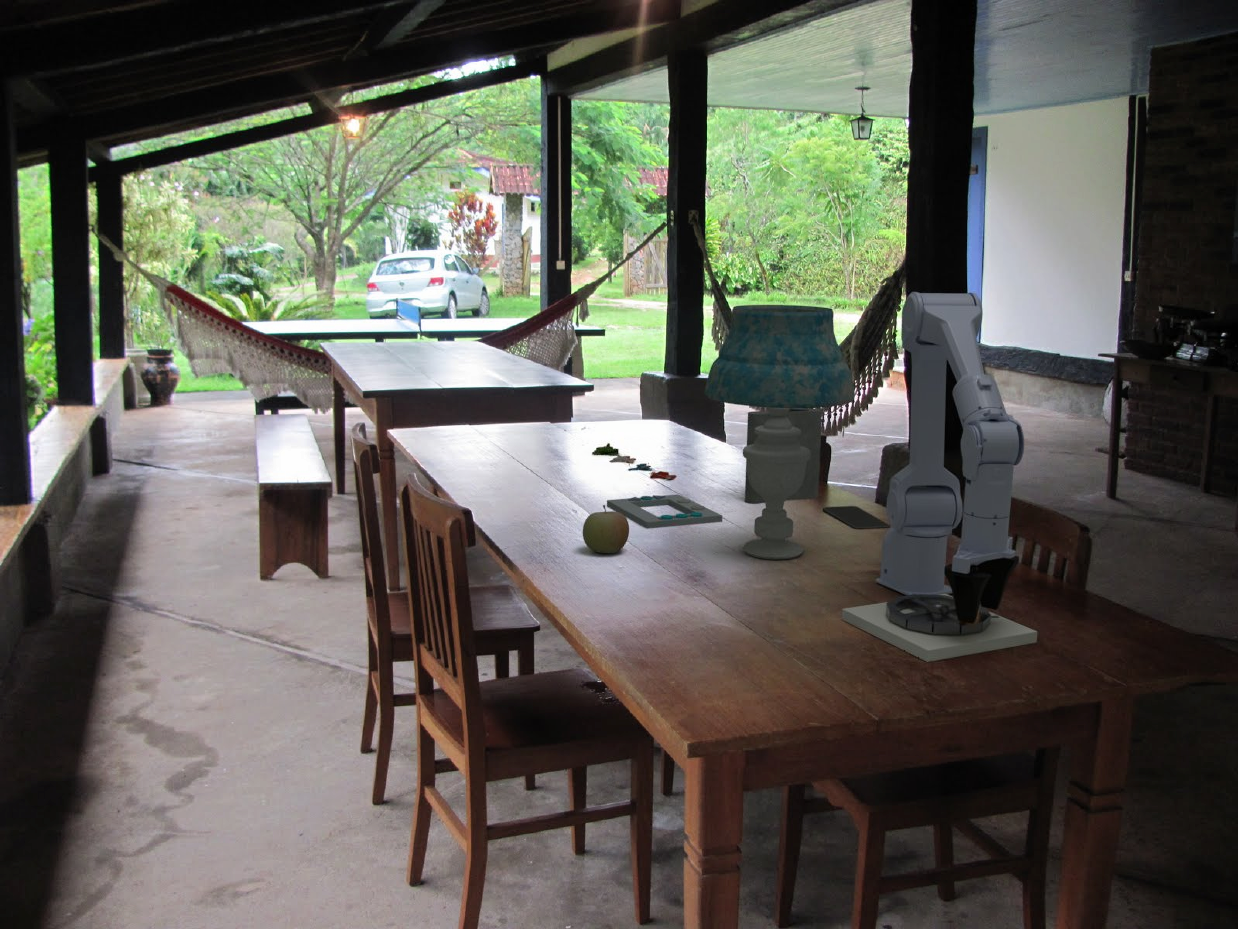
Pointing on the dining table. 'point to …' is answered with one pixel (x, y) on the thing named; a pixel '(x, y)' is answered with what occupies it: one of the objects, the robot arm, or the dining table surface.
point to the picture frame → (646, 519)
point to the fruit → (606, 531)
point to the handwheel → (934, 615)
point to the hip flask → (808, 438)
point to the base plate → (938, 645)
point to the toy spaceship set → (610, 450)
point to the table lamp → (779, 401)
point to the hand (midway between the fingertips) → (978, 614)
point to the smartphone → (855, 517)
